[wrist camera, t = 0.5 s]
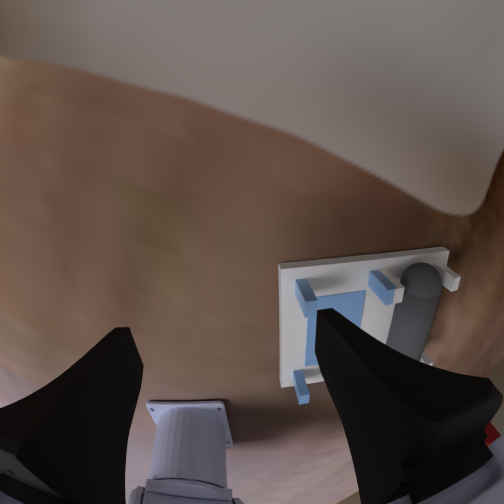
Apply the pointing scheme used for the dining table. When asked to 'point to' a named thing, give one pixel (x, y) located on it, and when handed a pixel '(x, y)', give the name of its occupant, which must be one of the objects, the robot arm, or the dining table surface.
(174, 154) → the dining table surface
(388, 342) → the dark grey capsule
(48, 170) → the dining table surface
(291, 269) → the board
